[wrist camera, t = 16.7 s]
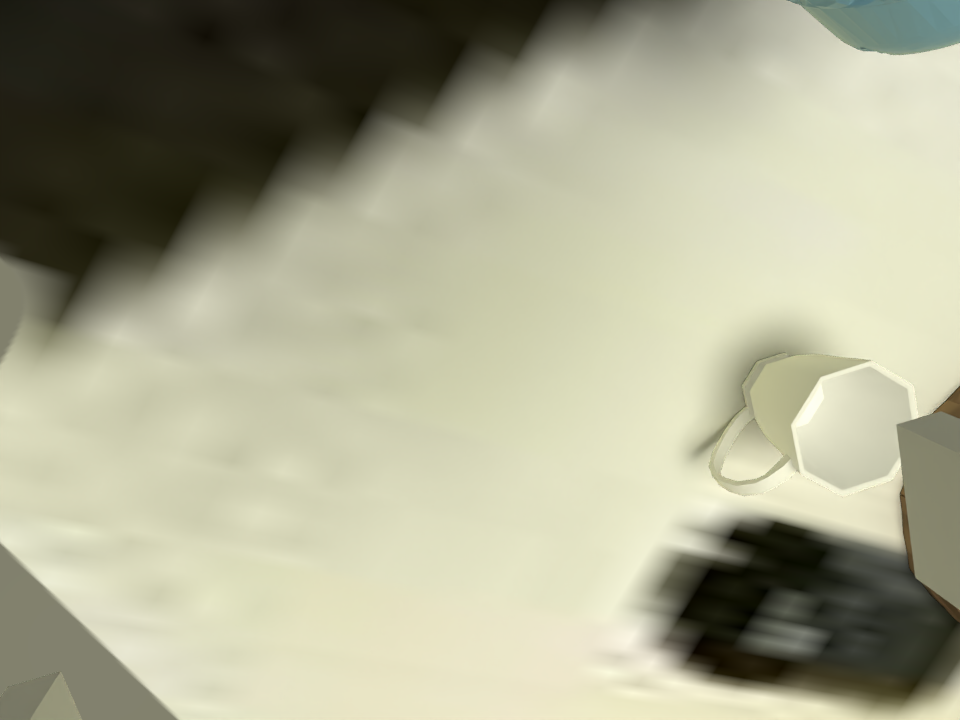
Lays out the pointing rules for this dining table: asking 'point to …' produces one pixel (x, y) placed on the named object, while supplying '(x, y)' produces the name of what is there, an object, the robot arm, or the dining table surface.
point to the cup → (822, 422)
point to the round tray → (954, 406)
